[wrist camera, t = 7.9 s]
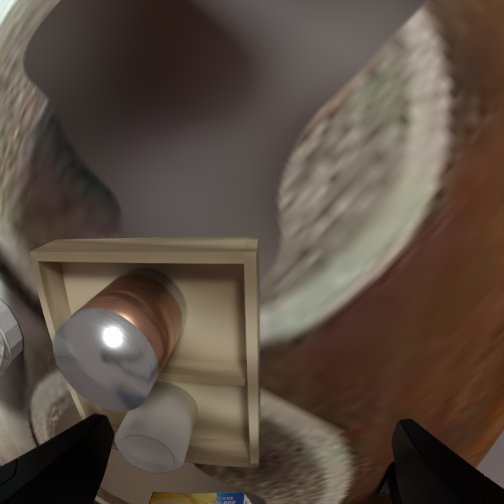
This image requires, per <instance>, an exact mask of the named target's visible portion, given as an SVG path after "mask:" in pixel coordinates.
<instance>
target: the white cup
mask: <svg viewBox="0 0 504 504" xmlns="http://www.w3.org/2000/svg"><path fill="white" fill-rule="evenodd" d="M22 350H23V337H22V334H21V331H20V328H19V325H18V322H17V320H16V319H15V317H14V315H13V314H12V312H11V310H10V309H9V307H8V306H7V305H6V304H5V303H4V302H3V301H2V300H1V299H0V377H1V376H2V375H3V374H4V373H5V372H6V370H7V368H8V367H9V365H10V364H11V363H12V362H13V361H14V360H15V359H16V358H17V357H18V356H19V354H20V353H21V352H22Z"/></svg>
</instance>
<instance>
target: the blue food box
mask: <svg viewBox="0 0 504 504" xmlns="http://www.w3.org/2000/svg"><path fill="white" fill-rule="evenodd" d="M149 504H252V503H251V502H250V501H249V499H248V498H247V497H246V495H245V494H244V492H243V491H241V492H224V493H164V492H153V493H152V496H151V500H150V502H149Z"/></svg>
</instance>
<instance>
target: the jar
mask: <svg viewBox="0 0 504 504" xmlns="http://www.w3.org/2000/svg"><path fill="white" fill-rule="evenodd" d="M197 414H198V407H197V404H196V402H195V400H194V398H193V397H192V396H191V395H190V394H189V393H188V392H187V391H186V390H184V389H183V388H181V387H179V386H177V385H175V384H172V383H169V382H164V381H156V383H155V385H154V386H153V387H152V389H151V391H150V393H149V395H148V396H147V398H146V400H145V402H144V403H143V404H142V405H141V406H139V407H138V408H136V409H133V410H130V411H128V412H127V414H126V416H125V418H124V419H123V421H122V423H121V425H120V427H119V429H118V431H117V433H116V435H115V443H116V446H117V448H118V449H119V450H120V451H121V454H122V455H123V457H124V458H125V459H126V460H127V461H128V462H129V463H131V464H132V465H134V466H135V467H137V468H139V469H141V470H144V471H147V472H151V473H158V474H162V473H167V472H171V471H175V470H178V469H179V468H181V467H182V465H183V463H184V460H185V456H186V453H187V449H188V446H189V442H190V439H191V435H192V432H193V428H194V424H195V421H196V417H197Z"/></svg>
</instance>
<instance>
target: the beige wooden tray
mask: <svg viewBox="0 0 504 504" xmlns="http://www.w3.org/2000/svg"><path fill="white" fill-rule="evenodd" d="M30 255H31V261H32V266H33V271H34V276H35V280H36V285H37V289H38V293H39V297H40V301H41V305H42V309H43V313H44V316H45V320H46V323H47V327H48V330H49V334H50V337H51V340H52V343H53V340H54V336H55V334H56V331H57V330H58V329H59V327H61V326H62V325H63V324H64V323H65V322H66V321H67V320H69V319H70V317H71V316H72V315H73V314H74V313H75V312H76V311H77V310H79V309H80V308H81V307H82V306H83V305H85V304H86V303H87V302H88V301H89V300H91V299H92V298H93V297H94V296H95V295H97V294H98V293H99V292H100V291H101V290H103V289H104V288H105V287H106V286H107V285H109V284H110V283H111V282H112V281H114V280H115V279H116V278H118V277H120V276H121V275H122V274H124V273H125V272H127V271H128V270H131V269H134V268H150V269H154V270H157V271H159V272H161V273H163V274H165V275H166V276H168V277H169V278H170V279H172V280H173V281H174V282H175V283H176V285H177V286H178V287H179V288H180V290H181V292H182V293H183V296H184V298H185V301H186V304H187V320H186V323H185V326H184V328H183V330H182V332H181V335H180V337H179V339H178V341H177V343H176V345H175V347H174V348H173V350H172V352H171V354H170V356H169V358H168V360H167V362H166V364H165V366H164V368H163V370H162V372H161V373H160V375H159V377H158V379H157V381H164V382H169V383H172V384H175V385H177V386H179V387H181V388H183V389H184V390H186V391H187V392H188V393H189V394H190V395H191V396H192V397H193V398H194V400H195V402H196V404H197V407H198V414H197V417H196V421H195V424H194V428H193V432H192V435H191V439H190V442H189V446H188V449H187V453H186V456H185V460H184V462H190V463H198V464H207V465H219V466H232V467H253V468H259V453H260V309H259V237H181V238H111V239H64V240H54V241H52V242H50V243H48V244H45V245H43V246H41V247H39V248H37V249H35V250H33V251H31V252H30ZM65 380H66V379H65ZM66 383H67V385H68V388H69V390H70V393H71V395H72V398H73V400H74V402H75V405H76V407H77V409H78V411H79V414H80V416H81V418H82V420H84V419H85V418H87V417H89V416H90V415H92V414H94V413H100V414H104V415H106V416H107V417H108V419H109V421H110V423H111V426H112V428H113V430H114V441H113V444H112V448H113V449H117V450H119V449H118V448H117V446H116V443H115V435H116V433H117V431H118V429H119V427H120V425H121V423H122V421H123V419H124V418H125V416H126V414H127V412H128V411H113V410H109V409H105V408H102V407H100V406H98V405H95V404H93V403H92V402H90V401H88V400H87V399H85V398H84V397H83V396H81V395H80V394H79V393H78V392H77V391H76V390H74V389H73V388H72V386H71V385H70V384H69V383H68V382H67V381H66Z"/></svg>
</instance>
